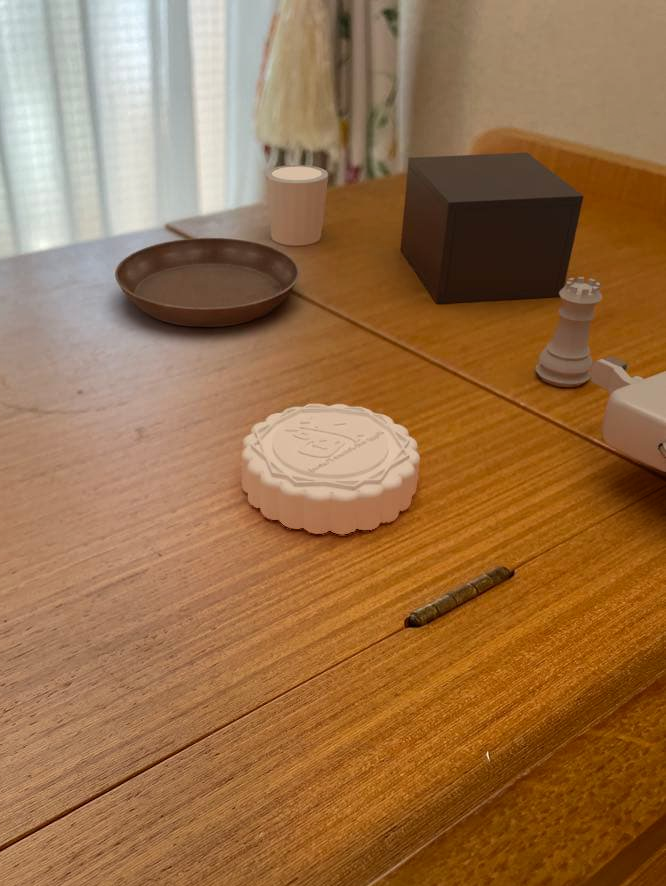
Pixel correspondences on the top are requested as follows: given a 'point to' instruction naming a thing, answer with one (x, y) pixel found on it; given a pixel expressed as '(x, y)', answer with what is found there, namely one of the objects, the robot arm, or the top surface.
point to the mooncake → (330, 468)
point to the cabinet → (488, 227)
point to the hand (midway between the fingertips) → (642, 351)
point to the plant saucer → (207, 280)
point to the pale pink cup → (296, 203)
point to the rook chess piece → (571, 336)
